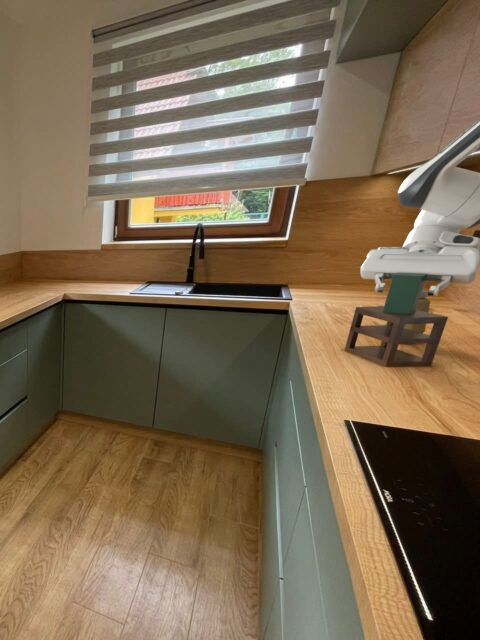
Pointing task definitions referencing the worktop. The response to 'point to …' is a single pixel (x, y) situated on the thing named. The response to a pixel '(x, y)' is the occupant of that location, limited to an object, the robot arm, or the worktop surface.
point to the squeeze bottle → (421, 306)
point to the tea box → (404, 293)
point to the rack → (395, 336)
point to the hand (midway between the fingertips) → (404, 292)
